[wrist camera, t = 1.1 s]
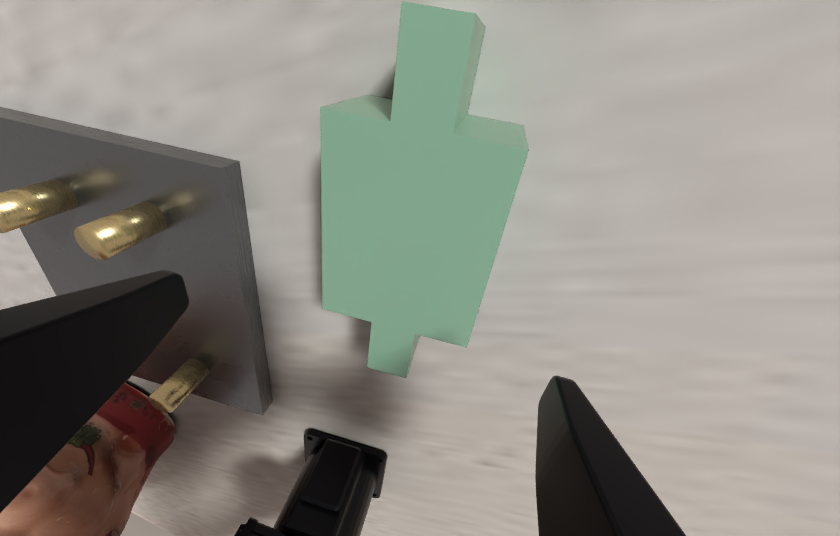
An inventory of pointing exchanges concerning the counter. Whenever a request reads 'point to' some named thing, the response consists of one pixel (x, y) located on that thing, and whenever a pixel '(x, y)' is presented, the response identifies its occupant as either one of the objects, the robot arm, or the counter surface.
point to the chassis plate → (144, 244)
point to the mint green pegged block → (416, 193)
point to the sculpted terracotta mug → (94, 473)
